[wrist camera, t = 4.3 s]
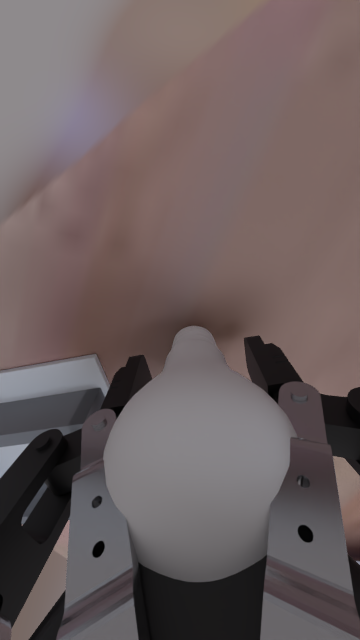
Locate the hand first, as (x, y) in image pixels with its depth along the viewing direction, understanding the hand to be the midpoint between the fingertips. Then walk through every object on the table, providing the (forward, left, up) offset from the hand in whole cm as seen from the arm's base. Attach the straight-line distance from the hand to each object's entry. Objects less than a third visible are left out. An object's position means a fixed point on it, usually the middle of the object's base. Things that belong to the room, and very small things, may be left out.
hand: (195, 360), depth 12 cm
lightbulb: (0, 0, -3) cm, 3 cm away
